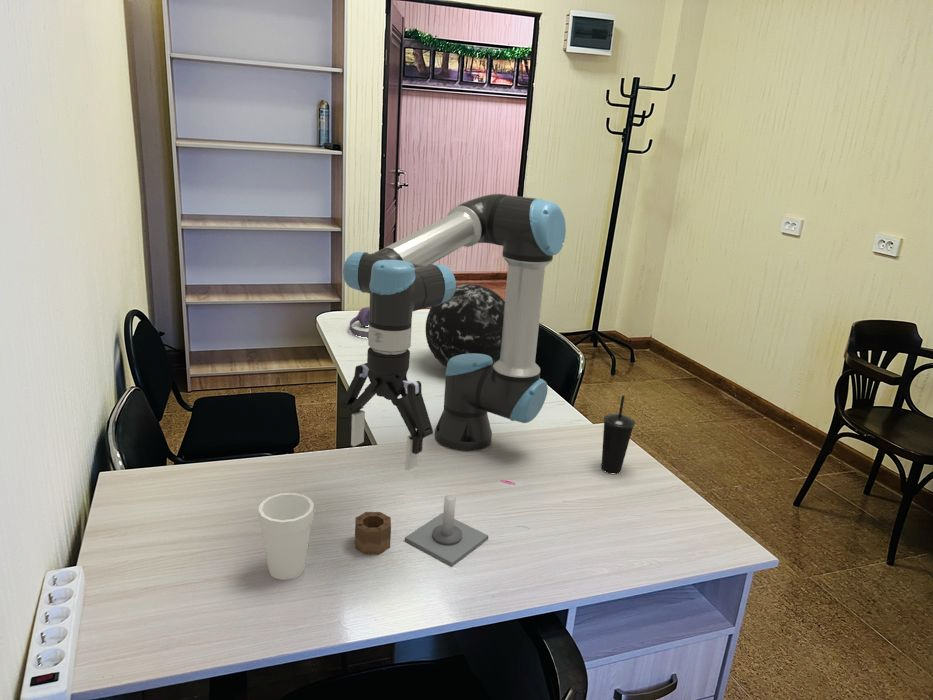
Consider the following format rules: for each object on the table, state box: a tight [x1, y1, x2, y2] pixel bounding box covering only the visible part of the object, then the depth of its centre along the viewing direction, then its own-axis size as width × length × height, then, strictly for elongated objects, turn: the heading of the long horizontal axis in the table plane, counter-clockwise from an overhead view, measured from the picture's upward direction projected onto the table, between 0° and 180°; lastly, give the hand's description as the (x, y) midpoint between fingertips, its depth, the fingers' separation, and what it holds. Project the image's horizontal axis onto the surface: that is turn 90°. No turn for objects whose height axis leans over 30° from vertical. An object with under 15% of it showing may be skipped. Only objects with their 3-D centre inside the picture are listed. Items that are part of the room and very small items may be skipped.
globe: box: [425, 283, 505, 368], centre depth 222 cm, size 30×30×30 cm
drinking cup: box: [601, 395, 636, 475], centre depth 164 cm, size 8×8×20 cm
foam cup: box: [257, 492, 315, 581], centre depth 119 cm, size 10×9×13 cm
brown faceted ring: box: [354, 511, 392, 555], centre depth 130 cm, size 7×7×5 cm
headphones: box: [349, 306, 370, 338], centre depth 259 cm, size 18×8×20 cm
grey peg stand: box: [404, 494, 489, 567], centre depth 132 cm, size 12×12×10 cm
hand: (383, 455), depth 125 cm, fingers open, 13 cm apart
